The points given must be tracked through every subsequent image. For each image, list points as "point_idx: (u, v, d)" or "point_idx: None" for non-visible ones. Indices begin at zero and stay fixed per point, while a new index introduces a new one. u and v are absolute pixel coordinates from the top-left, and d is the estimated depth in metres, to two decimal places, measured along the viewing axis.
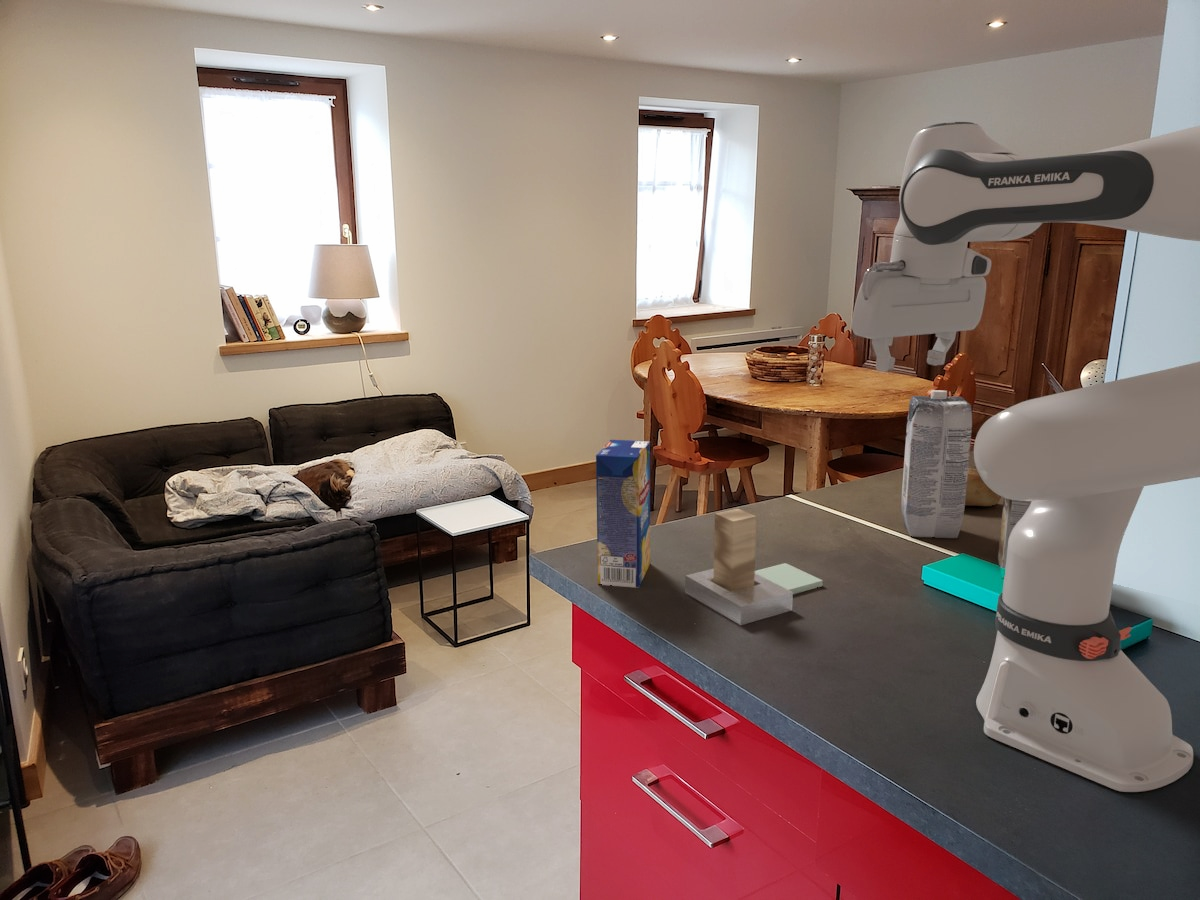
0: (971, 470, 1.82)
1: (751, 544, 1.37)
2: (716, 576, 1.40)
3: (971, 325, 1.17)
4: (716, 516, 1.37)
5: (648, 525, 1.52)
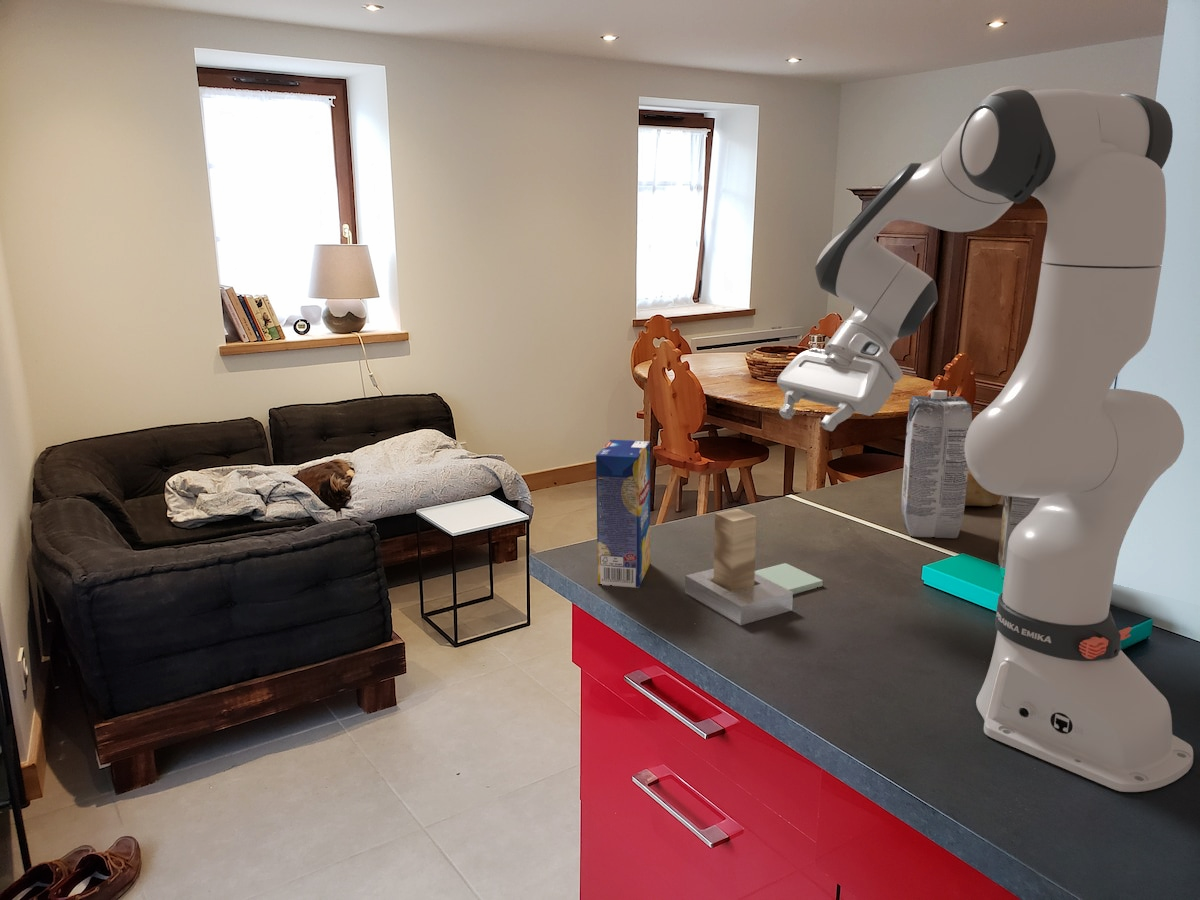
0: None
1: (751, 544, 1.37)
2: (716, 576, 1.40)
3: (857, 397, 1.33)
4: (716, 516, 1.37)
5: (648, 525, 1.52)
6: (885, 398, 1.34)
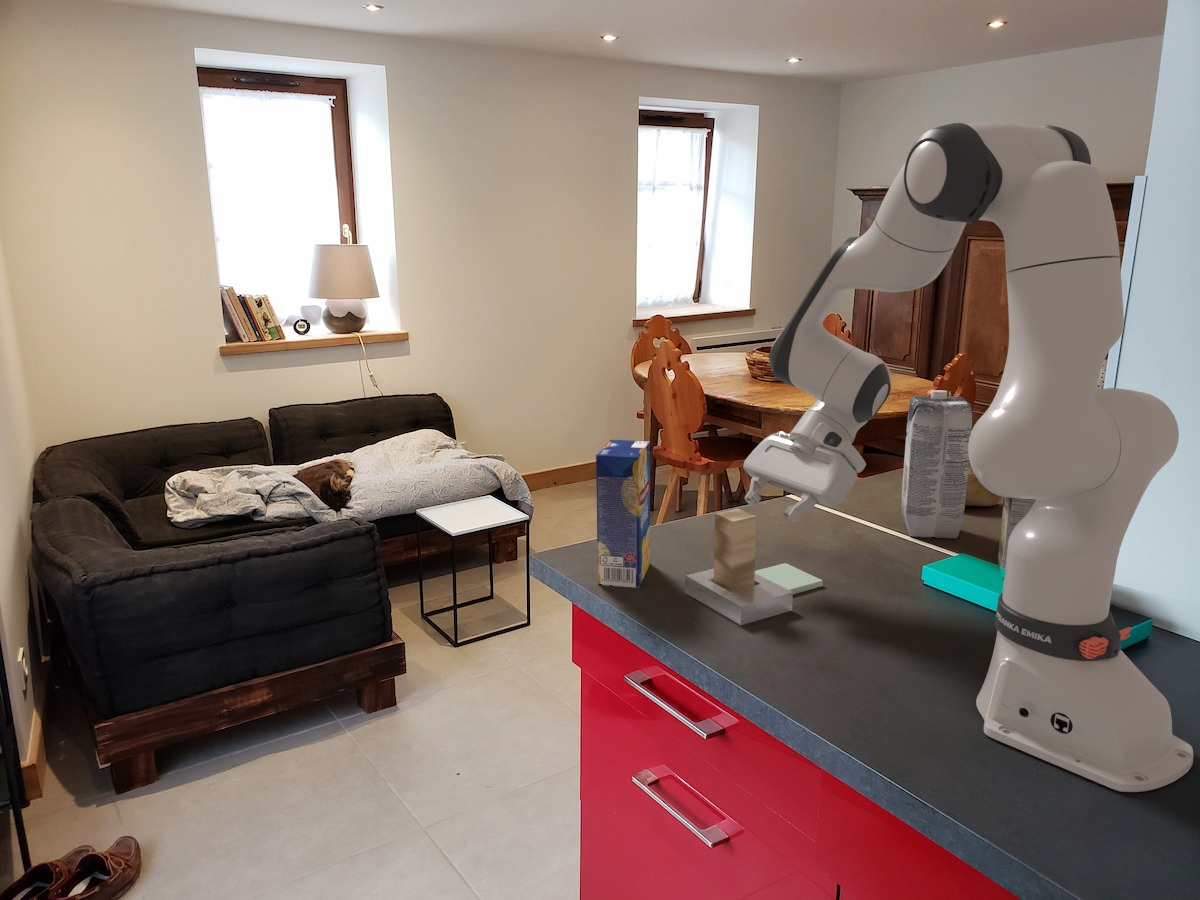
0: (971, 470, 1.82)
1: (751, 544, 1.37)
2: (716, 576, 1.40)
3: (819, 490, 1.33)
4: (716, 516, 1.37)
5: (648, 525, 1.52)
6: (847, 490, 1.34)
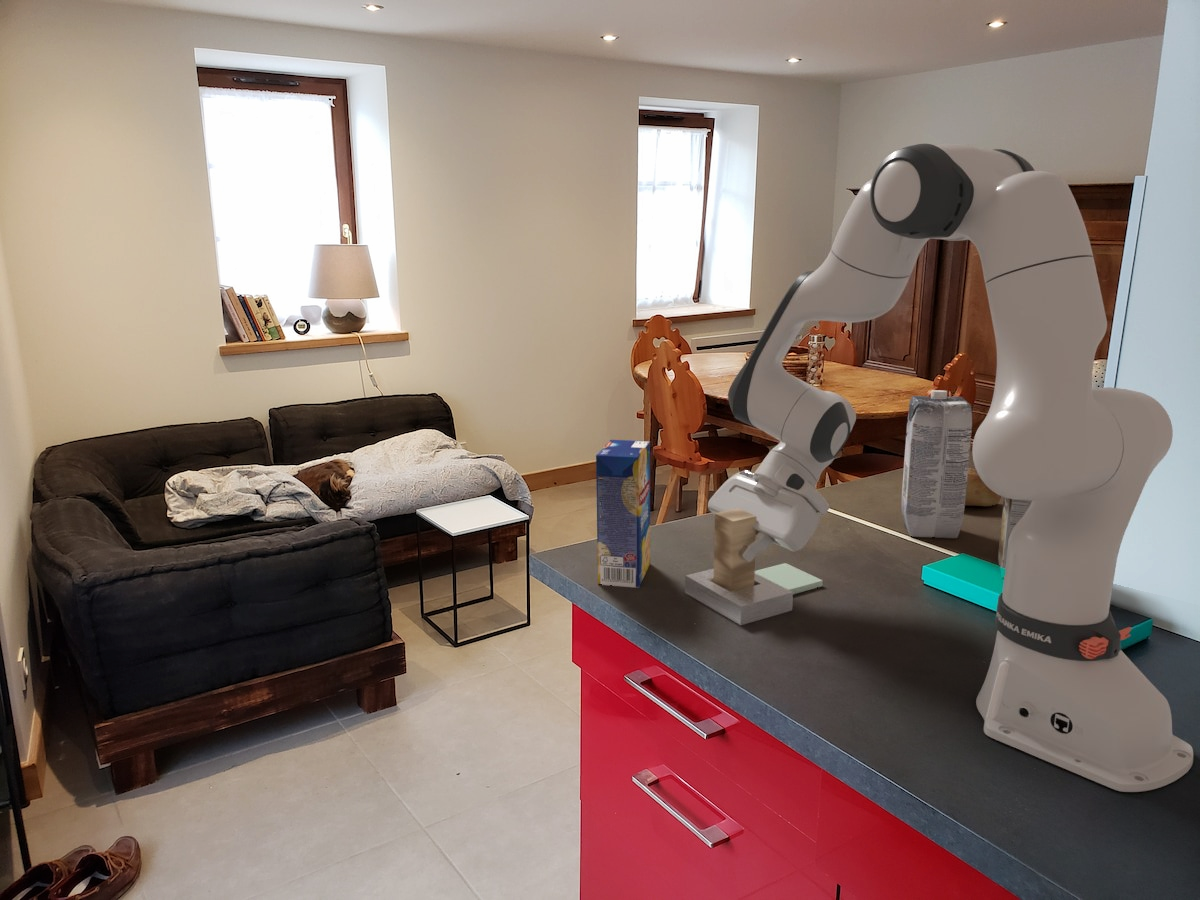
0: (971, 470, 1.82)
1: None
2: (716, 576, 1.40)
3: (780, 534, 1.31)
4: (716, 516, 1.37)
5: (648, 525, 1.52)
6: (810, 534, 1.32)
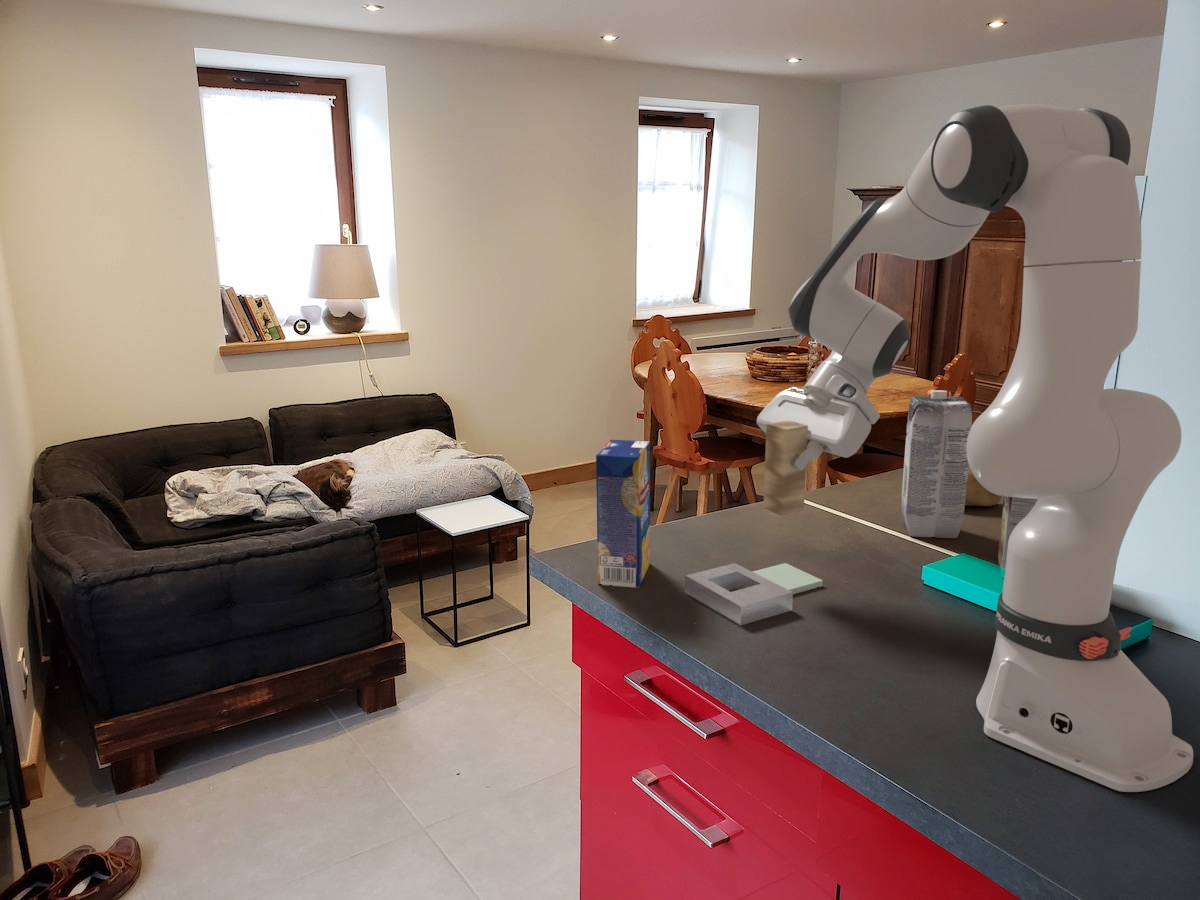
0: None
1: None
2: (767, 486, 1.43)
3: (833, 440, 1.34)
4: (768, 426, 1.40)
5: (648, 525, 1.52)
6: (862, 440, 1.35)
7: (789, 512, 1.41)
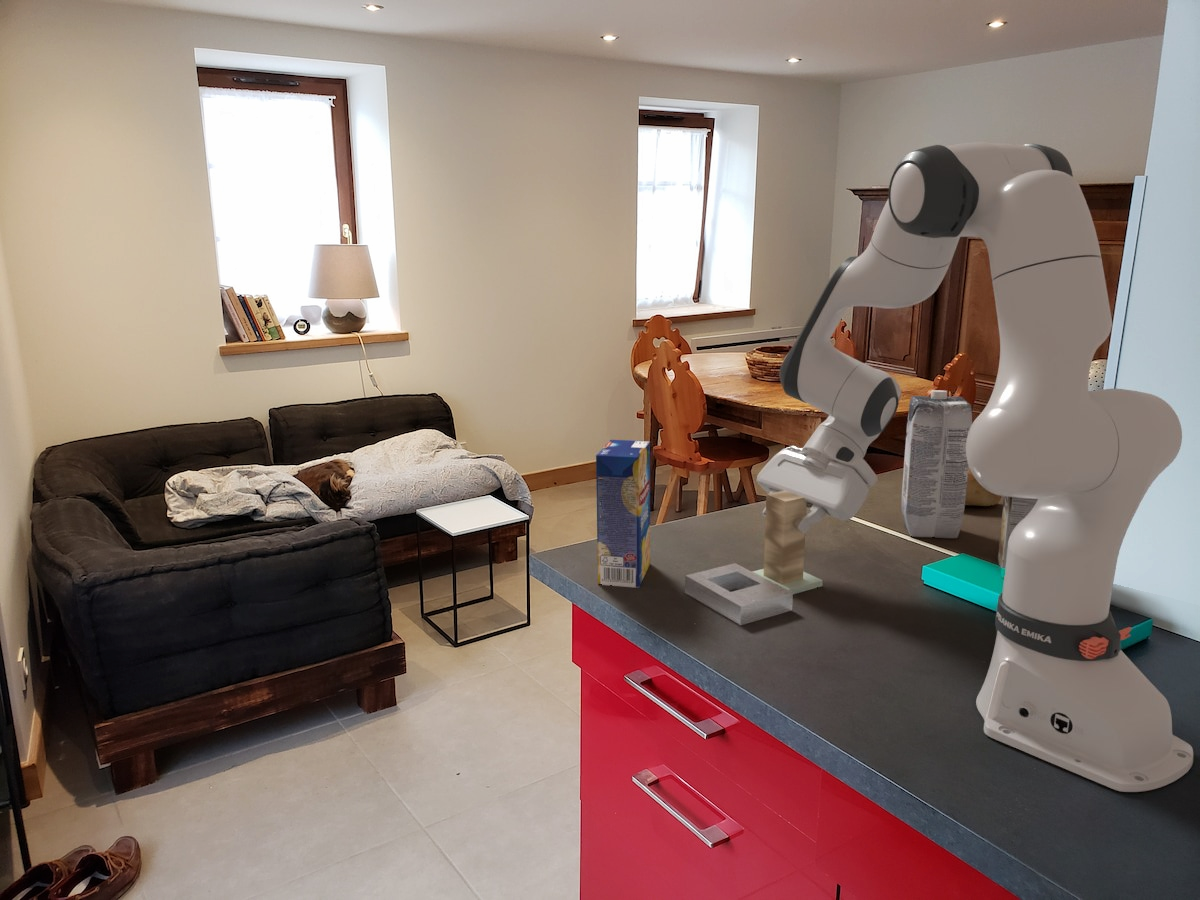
0: None
1: None
2: (767, 555, 1.45)
3: (832, 504, 1.37)
4: (768, 497, 1.43)
5: (648, 525, 1.52)
6: (860, 504, 1.37)
7: (788, 581, 1.44)
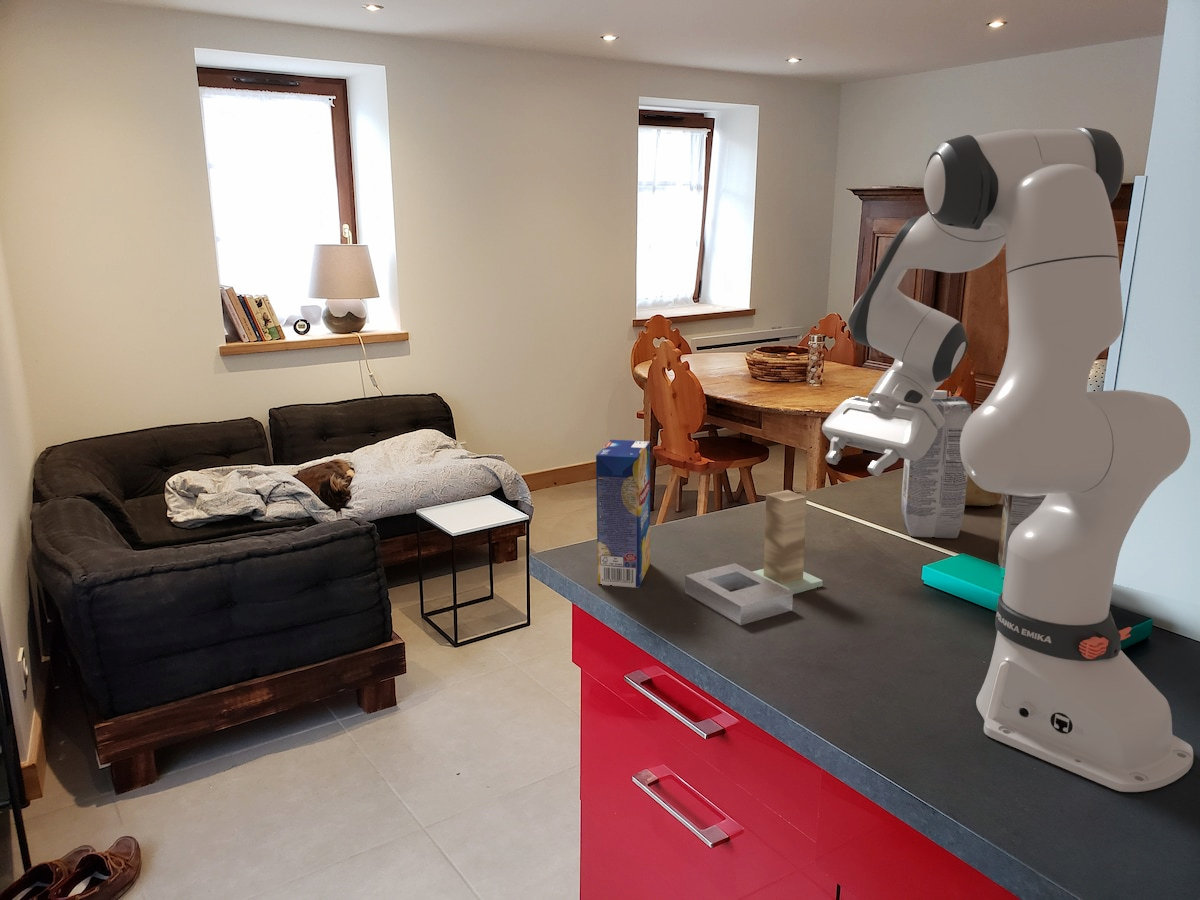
0: None
1: (801, 524, 1.43)
2: (767, 555, 1.45)
3: (902, 444, 1.40)
4: (767, 497, 1.43)
5: (648, 525, 1.52)
6: (929, 444, 1.40)
7: (788, 581, 1.44)
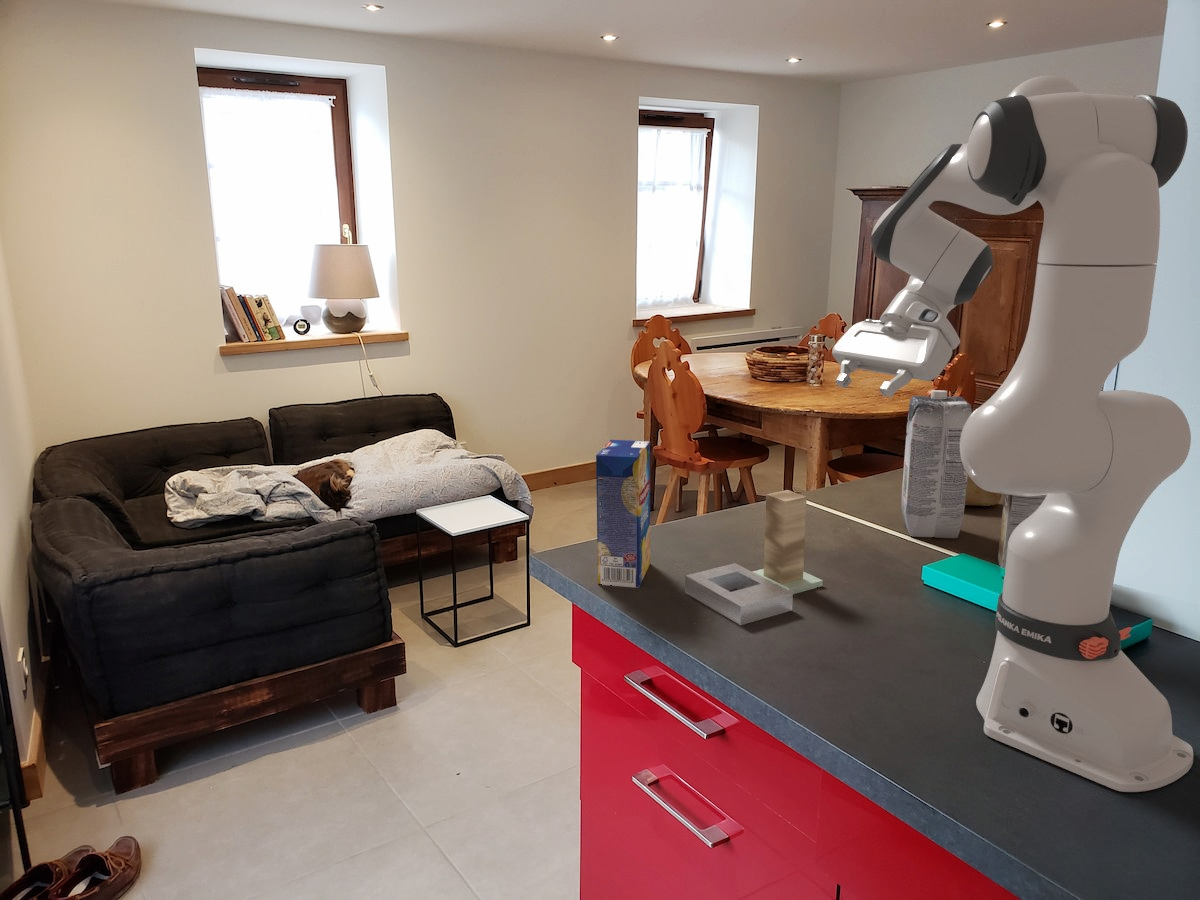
0: None
1: (801, 524, 1.43)
2: (767, 555, 1.45)
3: (916, 363, 1.35)
4: (767, 497, 1.43)
5: (648, 525, 1.52)
6: (944, 364, 1.36)
7: (788, 581, 1.44)
